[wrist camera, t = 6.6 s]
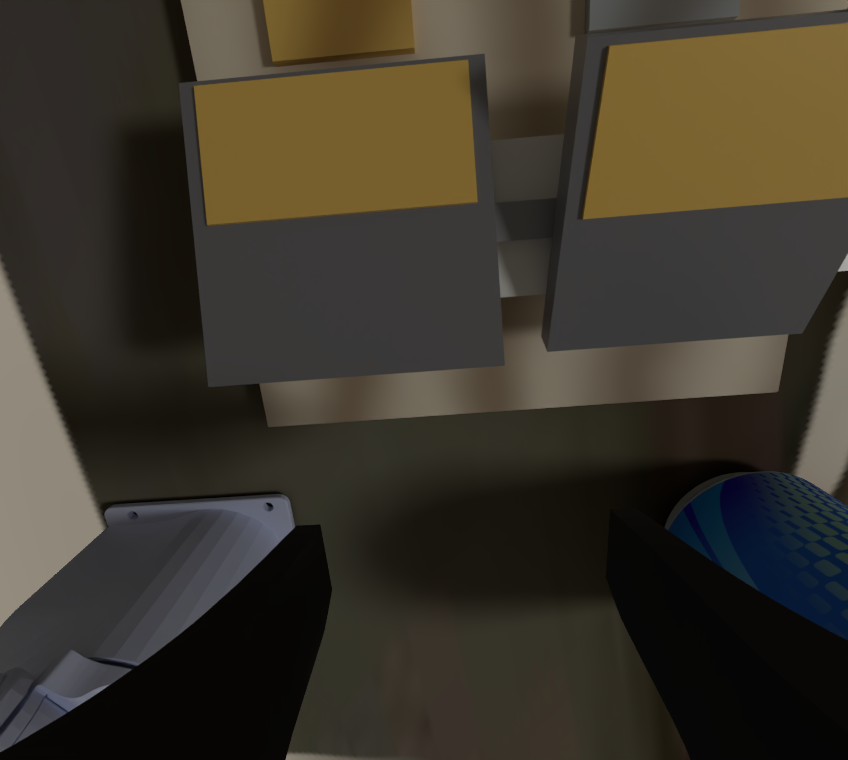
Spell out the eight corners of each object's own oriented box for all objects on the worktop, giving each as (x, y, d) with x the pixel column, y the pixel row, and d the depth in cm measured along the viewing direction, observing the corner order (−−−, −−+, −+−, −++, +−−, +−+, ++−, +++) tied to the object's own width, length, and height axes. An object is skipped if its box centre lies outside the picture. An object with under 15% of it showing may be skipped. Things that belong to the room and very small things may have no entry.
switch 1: (224, 385, 14) (206, 387, 13) (197, 102, 14) (176, 80, 13) (500, 365, 14) (505, 365, 13) (481, 76, 14) (485, 50, 12)
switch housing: (263, 304, 19) (220, 321, 15) (240, 181, 18) (185, 164, 14) (770, 264, 19) (865, 271, 15) (791, 132, 17) (904, 100, 13)
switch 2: (541, 336, 17) (548, 353, 16) (575, 35, 11) (589, 36, 10) (783, 318, 16) (804, 334, 15) (951, -1, 11) (999, -3, 10)
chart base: (275, 418, 21) (264, 431, 20) (183, -46, 16) (158, -74, 14) (761, 384, 20) (786, 395, 19) (845, -116, 15) (889, -154, 13)
